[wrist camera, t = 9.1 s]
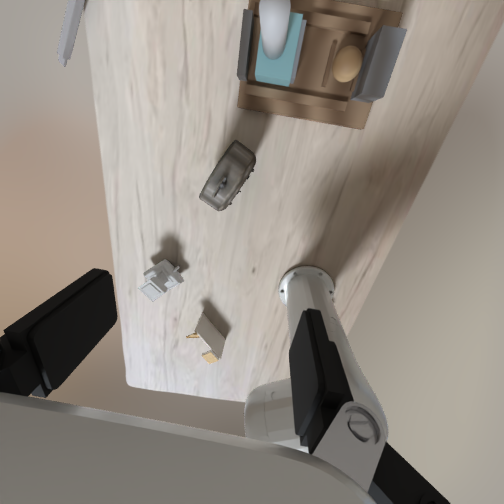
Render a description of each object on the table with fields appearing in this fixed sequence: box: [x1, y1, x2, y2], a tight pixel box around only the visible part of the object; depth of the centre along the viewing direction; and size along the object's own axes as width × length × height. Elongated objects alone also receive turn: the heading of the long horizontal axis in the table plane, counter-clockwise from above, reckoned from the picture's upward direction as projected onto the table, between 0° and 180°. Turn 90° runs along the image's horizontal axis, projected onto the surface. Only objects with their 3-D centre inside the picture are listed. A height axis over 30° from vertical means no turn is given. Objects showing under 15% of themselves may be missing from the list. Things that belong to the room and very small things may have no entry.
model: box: [186, 313, 225, 364], centre depth 58 cm, size 3×11×8 cm, turn 31°
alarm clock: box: [199, 140, 256, 211], centre depth 35 cm, size 11×5×16 cm, turn 144°
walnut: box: [332, 46, 363, 82], centre depth 32 cm, size 4×4×4 cm
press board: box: [237, 0, 407, 129], centre depth 32 cm, size 21×14×6 cm, turn 81°
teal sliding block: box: [255, 0, 307, 87], centre depth 27 cm, size 6×7×13 cm
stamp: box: [138, 259, 184, 301], centre depth 50 cm, size 9×7×8 cm
